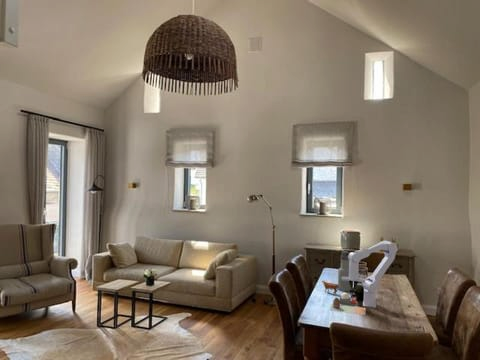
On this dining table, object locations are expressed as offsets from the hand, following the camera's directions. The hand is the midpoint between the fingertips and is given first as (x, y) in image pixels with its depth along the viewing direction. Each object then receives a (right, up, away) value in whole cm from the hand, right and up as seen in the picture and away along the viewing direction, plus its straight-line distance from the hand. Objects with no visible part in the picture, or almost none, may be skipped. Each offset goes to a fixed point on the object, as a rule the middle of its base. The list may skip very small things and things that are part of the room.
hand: (353, 292), depth 233 cm
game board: (-5, -8, -7) cm, 12 cm away
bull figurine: (-9, -9, +27) cm, 30 cm away
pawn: (-12, -8, -5) cm, 15 cm away
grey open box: (-2, -8, +4) cm, 9 cm away
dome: (-4, -6, +5) cm, 9 cm away
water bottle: (+5, -9, +35) cm, 37 cm away
